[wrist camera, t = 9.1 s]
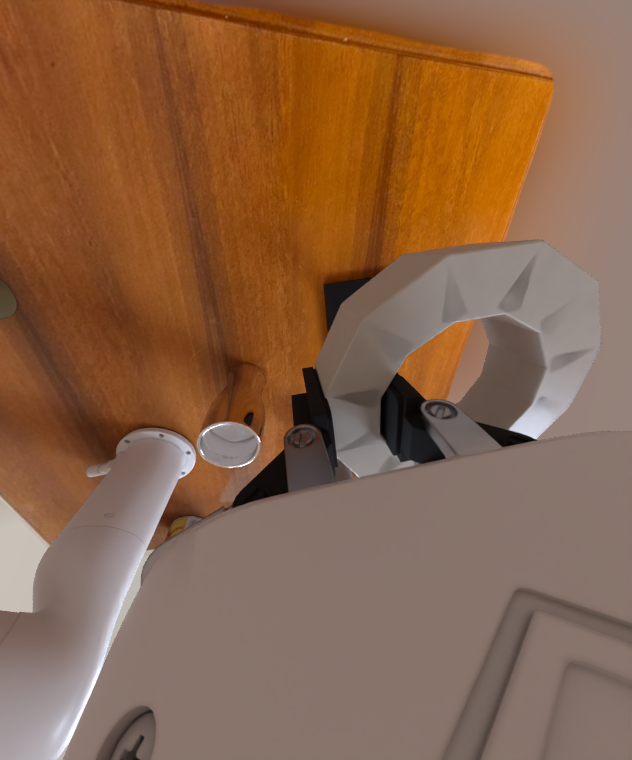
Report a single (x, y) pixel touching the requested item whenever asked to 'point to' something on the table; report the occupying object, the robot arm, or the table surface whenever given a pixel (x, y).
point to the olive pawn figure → (6, 301)
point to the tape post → (339, 296)
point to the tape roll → (456, 304)
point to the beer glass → (235, 420)
